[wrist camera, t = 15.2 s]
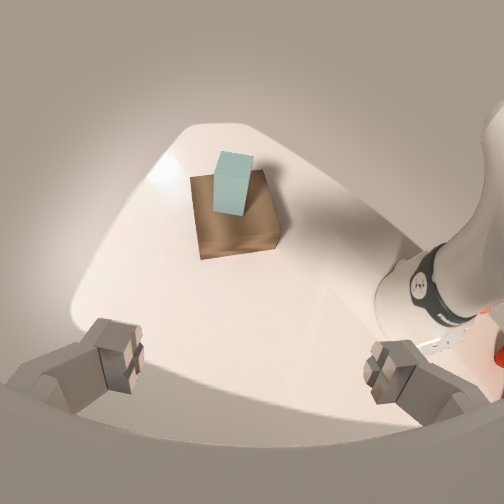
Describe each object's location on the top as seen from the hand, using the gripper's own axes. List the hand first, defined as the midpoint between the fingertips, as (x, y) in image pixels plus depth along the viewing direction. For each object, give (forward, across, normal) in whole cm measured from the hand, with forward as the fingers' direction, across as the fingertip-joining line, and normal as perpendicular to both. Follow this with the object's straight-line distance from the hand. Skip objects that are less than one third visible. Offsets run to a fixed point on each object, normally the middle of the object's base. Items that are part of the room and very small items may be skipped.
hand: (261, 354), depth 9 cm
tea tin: (+36, +2, +1) cm, 36 cm away
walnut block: (+40, +2, +5) cm, 40 cm away
